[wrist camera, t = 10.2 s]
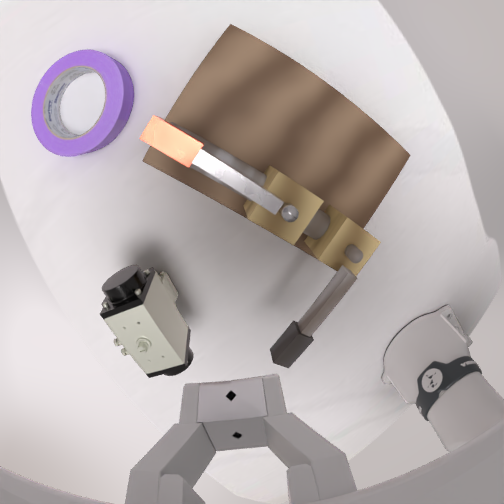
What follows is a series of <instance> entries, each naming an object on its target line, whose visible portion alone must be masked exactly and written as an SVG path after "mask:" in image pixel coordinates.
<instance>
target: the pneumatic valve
mask: <svg viewBox="0 0 504 504" xmlns="http://www.w3.org/2000/svg"><path fill="white" fill-rule="evenodd" d="M102 291H103V292H104V294H105V295H106V297H105V299H104V301H103V303H102V306H103V309H102V311H101V313H100V315H101V316H102V318H103V319H104V321H105V322H106V323H107V325H108V326H109V328H110V329H111V330H112V332H113V333H114V334H115V336H116V337H117V339H114V344H115V345H116V346H119V345H123V346H124V348H123V349H121V352H122V354H123V355H124V356H125V355H129V354H130V355H131V356H132V358H133V359H134V360H135V361H136V363H137V364H138V365H139V366H140V368H141V369H142V370H143V371H144V372H145V373H146V375H147V376H148V377H149V378H150V377H154V376H158V375H162V374H164V375H167V376H173V375H177V374H179V373H181V372H183V371H184V370H186V369H187V368H188V367H189V365H190V364H191V362H192V360H193V352H192V350H191V349H190V347H189V342H190V331H191V330H190V329H189V327H188V326H187V324H186V322H185V321H184V319H183V318H182V316H181V314H180V313H179V311H178V309H177V305H176V303H175V301H176V299H177V298H178V292H177V290H176V289H175V287H174V285H173V283H172V282H171V280H170V278H169V276H168V274H167V273H166V272H164V271H162V272H160V275H158V273H157V272H156V271H155V270H154V268H153V267H152V268H150V269H147V270H145V271H141V269H140V267H139V266H138V265H131V266H128V267H126V268H124V269H122V270H120V271H118V272H117V273H115V274H114V275H112V276H111V277H110V278H109V279H108V280H107V281H106V282H105V283H104V284H103V286H102Z"/></svg>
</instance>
